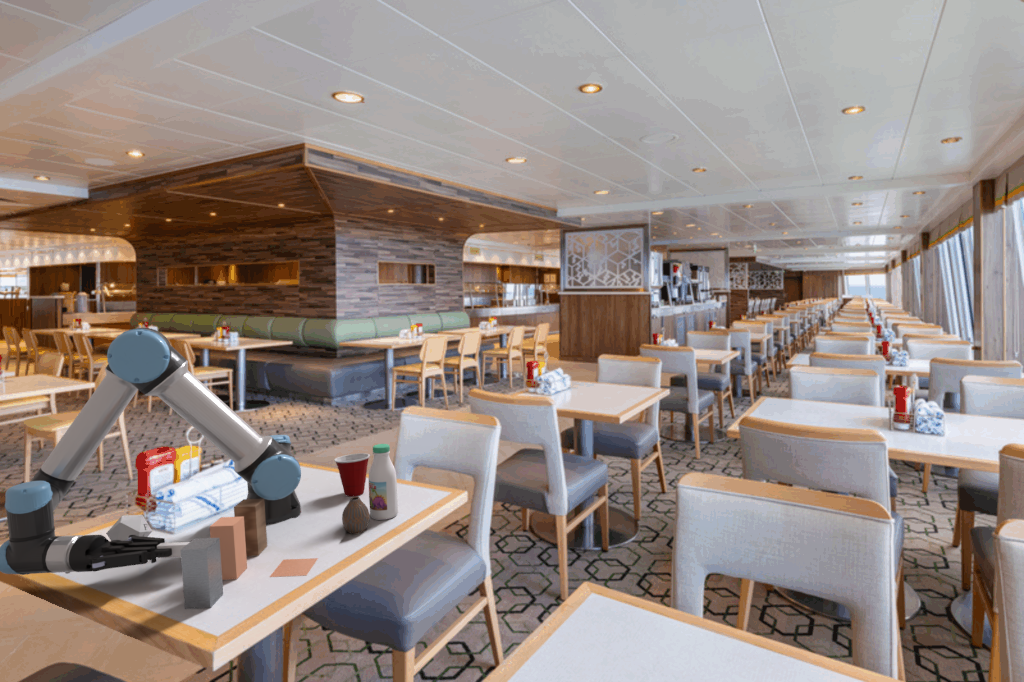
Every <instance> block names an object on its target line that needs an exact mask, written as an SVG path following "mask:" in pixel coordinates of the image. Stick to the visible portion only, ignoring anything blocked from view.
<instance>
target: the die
mask: <svg viewBox="0 0 1024 682" xmlns="http://www.w3.org/2000/svg"><path fill="white" fill-rule="evenodd" d="M152 532H153V530H152V529H151V527H150V525H149V523H148V522H147V520H146V519H145V517H144V515H143V514H129V515H127V514H126V515H121V516H120V517H119V518H118V519H117V521H116V522H115V523H114V524H113V525H112V526H111V527H110V528H109V529H108V531H107V532H106V535H107V537H108V540H109V541H112V540H121V541H125V540H128V538H129V536H130V535H136V536H142V537H150V534H151V533H152Z"/></svg>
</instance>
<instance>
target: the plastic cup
mask: <svg viewBox="0 0 1024 682" xmlns="http://www.w3.org/2000/svg"><path fill="white" fill-rule="evenodd" d="M370 456H371V454H369V453H365V452H364V453H350V454H344V455H342V456H337V457H335V458H334V459H333V460H334V463H335V464H336V466H337V469H338V473H339V477H340V482H341V485H342V489H343V493H344V495H345V496H346V497H349V498H352V497H360V496H361V495H363V494H364V492H365V489H366V488H365V486H366V482H367V481H366V479H367V472H368V463H369V459H370Z"/></svg>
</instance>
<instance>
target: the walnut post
mask: <svg viewBox="0 0 1024 682" xmlns="http://www.w3.org/2000/svg"><path fill="white" fill-rule="evenodd" d="M233 512H234V513H233V517H242V516H244V527H245V542H246V557H259V556H260V555H261V554H262V553H263V551H265V549H266V548H267V547H268V538H267V534H268V533H267V525H266V518H265V502H264V499H247V498H246V499H242V500H241V501H239V502H238V503H237V504H236V505H235V506H233Z"/></svg>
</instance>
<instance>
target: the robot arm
mask: <svg viewBox="0 0 1024 682" xmlns="http://www.w3.org/2000/svg"><path fill="white" fill-rule="evenodd" d="M106 354H107V355H106V358H107V359H106V360H107V363H108V364H107V366H106V367H105V368H104V371H105V373H106V374H105V376H104V378H102V380H101V382H100V383H99V385H98V386H97V387H96V388H95V390H94V392H93V393H92V395H91V396H90V397H89V398H88V400H87V401H86V403H85V404H84V406H83V407H82V409H81V410H80V411H79V413H78V414H77V416H76V417H75V419H73V421H72V422H71V424H70V426H68V428H67V429H66V431H65V433H64V434H63V435H62V436H61V438H60V439H59V441H58V442H57V444H56V445H55V447H54V448H53V450H52V451H51V452H50V453H49V455H48V457H47V458H46V459H45V461H44V462H43V463H42V465H41V466H40V467H39V469H38V471H37V472H36V473H35V474H34V475H33V478H32V479H31V480H30V481H27V482H22V483H19V484H15V485H13V486H11V487H9V488H8V489H7V490H6V491H5V503H4V509H5V511H6V520H7V529H8V537H9V539H8V540H5V541H4V542H2V544H1V545H0V572H1V573H2V574H5V575H19V576H20V575H21V576H25V575H31V574H32V575H33V574H36V575H37V574H50V573H52V574H53V573H65V574H70V573H74V572H76V573H81V572H82V573H85V572H90V573H91V572H94V573H95V572H99V571H104V570H107V569H115V568H123V567H130V566H136V565H146V564H148V563H149V561H150V562H151V564H155V563H156V562H157V559H164V558H165V559H166V558H167V559H169V558H181V549H182V548H183V547H185V546H186V545H187V544H188V543H190V542H191V541H182V542H181V541H178V542H177V541H176V542H165V541H166V540H165V538H163V537H153V536H152V537H151V536H148V537H142V536H136V535H130V536H129V538H128V540H125V541H121V540H112V541H111V540H109V539H107V537H106V536H104V535H102V534H86V535H83V534H77V535H76V534H75V535H73V534H72V535H56V531H55V530H56V527H55V518H54V516H55V515H54V514H55V513H54V512H55V510H56V508H57V507H58V506H59V504H60V503H61V501H62V500H63V499H64V498H65V496H66V495H67V493H68V492H69V491H70V488H71V487H72V485H73V484H74V482H75V481H76V479H77V478H78V476H79V475H80V473H81V472H82V471H83V469H84V468H85V466H86V465H87V463H88V462H89V460H90V459H91V458H92V456H93V455H94V454H95V452H96V451H97V449H98V447H99V446H100V445H101V444H102V442H103V441H104V439H105V438H106V437H107V435H108V434H109V433H110V431H111V429H112V428H113V426H114V425H115V424H116V423H117V420H118V419H119V418H120V416H121V415H122V413H123V412H124V410H125V409H126V408H127V406H128V405H129V404H130V403H131V401H132V399H133V398H134V396H135V395H136V393H138V391H139V392H141V394H143V395H144V396H147V397H149V396H150V397H151V396H152V397H157V398H159V399H160V400H161V401H163V402H164V404H166V405H167V406H168V407H170V408H171V409H172V410H173V411H174V412H175V413H176V414H177V415H179V416H180V417H181V418H182V419H183V420H185V422H187V423H188V424H189V425H191V426H192V427H193V428H194V429H195V430H196V431H197V432H198V433H199V434H201V435H202V436H203V437H204V438H205V439H207V440H208V441H209V442H211V444H213V445H214V446H215V447H216V448H217V449H219V451H221V452H222V453H223V454H224V455H225V456H227V458H229V459H230V460H231V461H232V462H233V463H234V464H233V465H234V469H233V470H234V472H235V473H236V474H237V475H239V476H240V477H241V478H242V479H243V480H244V481H245V482H247V497H246V499H264V502H265V518H266V526H267V525H273V524H277V523H281V522H285V521H287V520H290V519H296V518H297V517H299V516H300V515H301V513H302V510H301V508H302V507H301V502H300V500H299V498H298V496H297V493H296V489H297V487H298V486H299V484H300V482H301V480H302V479H301V478H302V470H301V469H302V468H301V465H300V463H299V461H298V460H297V459H296V458H295V457H294V455H293V454H292V451H291V450H292V449H291V446H292V441H291V438H290V436H289V435H288V434H272V435H260V434H259V433H258V432H257V431H256V430H255V428H253V427H252V426H250V425H249V424H248V423H247V422H246V421H245V420H244V419H243V418H242V417H241V416H239V415H238V413H236V411H234V410H233V409H231V407H230V406H228V404H226V403H225V402H224V401H223V400H222V399H221V398H219V396H217V395H216V394H215V393H214V392H213V391H212V390H211V389H209V388H208V386H206V385H205V384H204V383H203V382H202V381H200V380H199V379H198V378H197V377H196V376H195V375H194V374H193V373H192V372H191V371H189V361H188V360H187V359H186V357H184V356H183V355H182V354H181V353H180V352H179V351H178V350H176V349H175V347H173V345H171V343H170V341H169V339H168V338H167V337H166V336H165V335H164V334H163V333H162V332H160V331H159V330H156V329H154V328H149V327H136V328H132V329H129V330H125V331H124V332H122V333H121V334H118V335H117V336H116V337H115V339H113V340H112V342H111V343H110V344H109V346H108V348H107V353H106Z"/></svg>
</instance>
